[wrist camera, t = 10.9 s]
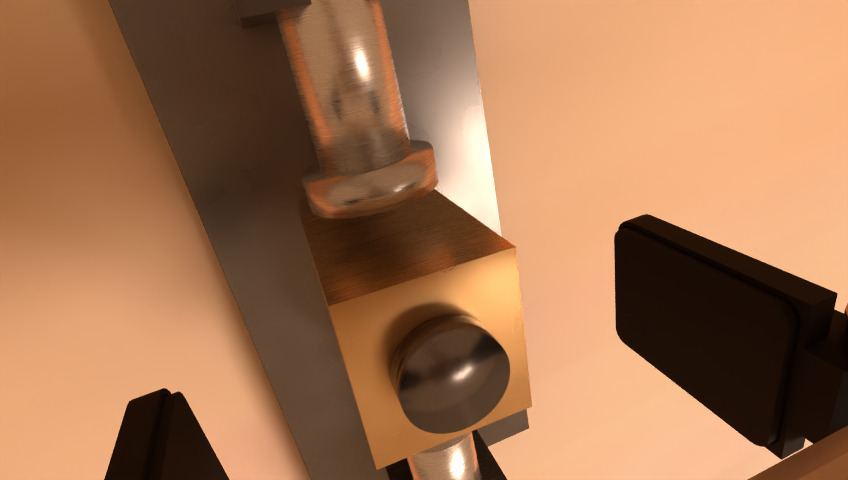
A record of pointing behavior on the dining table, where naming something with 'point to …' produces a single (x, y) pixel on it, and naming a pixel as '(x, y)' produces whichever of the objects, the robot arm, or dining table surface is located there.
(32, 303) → the dining table surface
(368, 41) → the shaft rig
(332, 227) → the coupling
